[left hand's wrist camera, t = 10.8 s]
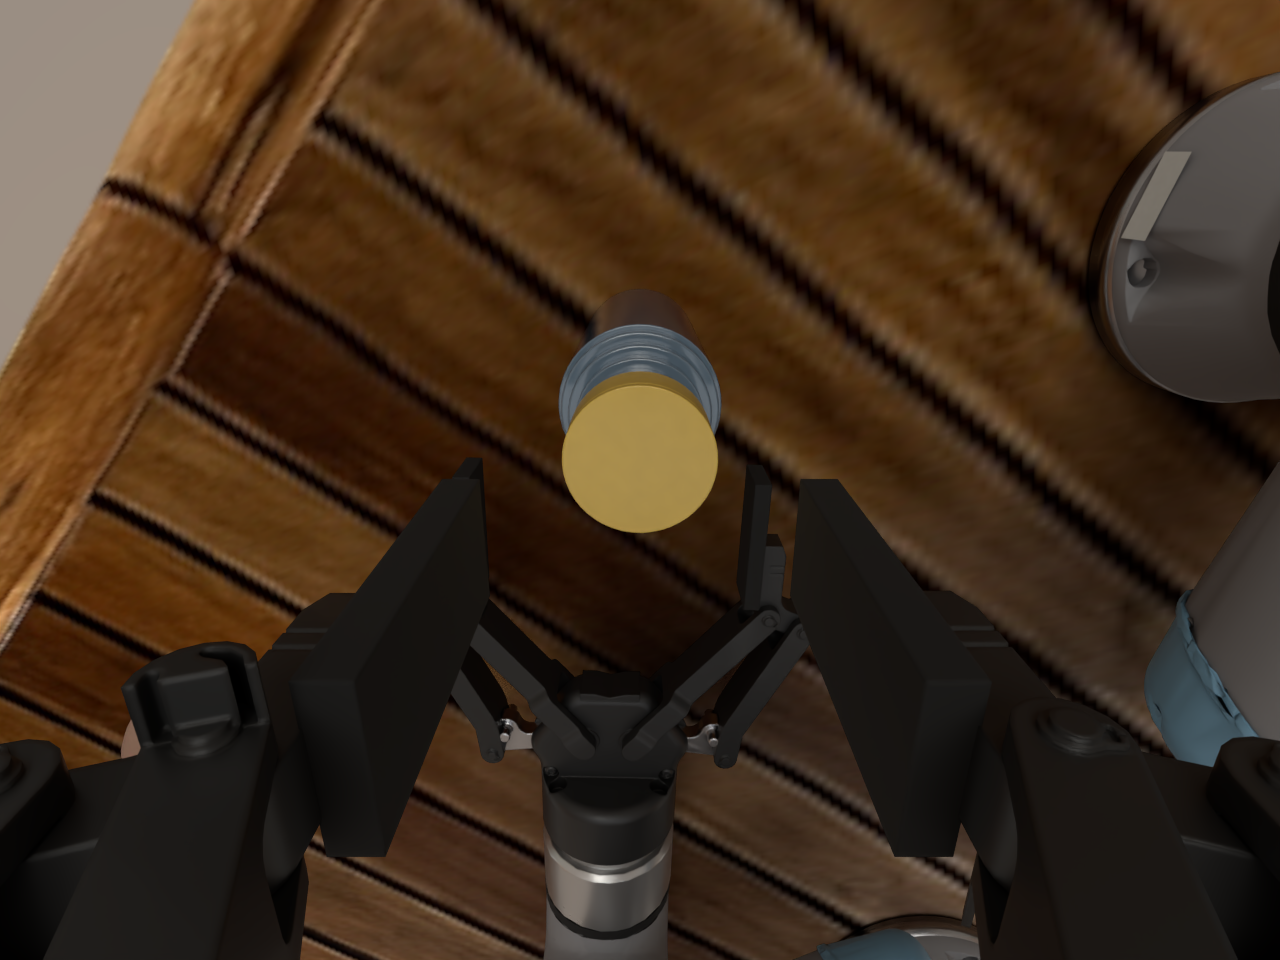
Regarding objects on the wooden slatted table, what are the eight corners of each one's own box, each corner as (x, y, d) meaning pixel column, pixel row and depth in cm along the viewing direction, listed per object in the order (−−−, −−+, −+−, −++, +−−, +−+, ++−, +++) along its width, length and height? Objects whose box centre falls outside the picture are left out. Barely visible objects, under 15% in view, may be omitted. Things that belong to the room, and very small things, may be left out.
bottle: (618, 267, 35) (597, 313, 18) (715, 324, 36) (784, 419, 19) (566, 366, 37) (501, 494, 20) (660, 417, 38) (677, 582, 21)
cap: (611, 343, 20) (608, 355, 18) (738, 415, 20) (748, 433, 19) (543, 467, 21) (535, 490, 19) (666, 530, 22) (668, 557, 20)
